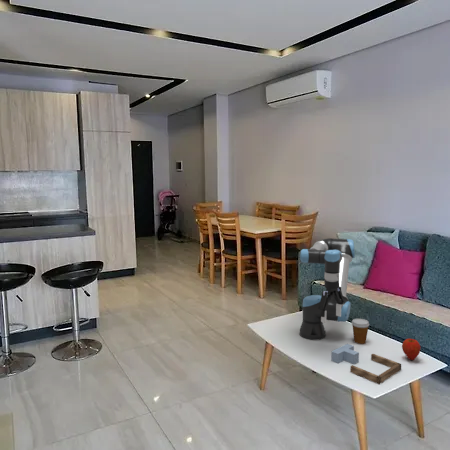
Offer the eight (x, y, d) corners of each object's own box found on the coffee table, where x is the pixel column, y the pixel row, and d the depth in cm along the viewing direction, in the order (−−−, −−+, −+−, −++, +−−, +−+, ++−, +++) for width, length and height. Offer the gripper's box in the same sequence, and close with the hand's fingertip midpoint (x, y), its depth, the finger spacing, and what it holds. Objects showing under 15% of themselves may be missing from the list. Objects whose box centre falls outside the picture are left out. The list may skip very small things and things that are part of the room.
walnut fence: (350, 371, 193) (350, 366, 192) (372, 359, 205) (372, 353, 205) (379, 384, 181) (379, 378, 181) (401, 369, 194) (401, 363, 193)
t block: (331, 360, 204) (331, 351, 204) (347, 352, 213) (347, 343, 213) (348, 367, 197) (348, 357, 196) (364, 358, 206) (364, 349, 205)
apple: (397, 357, 206) (398, 337, 205) (409, 354, 210) (410, 334, 208) (411, 364, 198) (412, 344, 197) (423, 361, 202) (424, 340, 200)
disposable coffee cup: (347, 339, 229) (348, 319, 227) (360, 336, 232) (361, 317, 231) (359, 346, 220) (359, 325, 218) (372, 343, 224) (373, 322, 222)
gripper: (323, 286, 197) (323, 327, 200) (351, 276, 213) (350, 315, 216) (311, 283, 203) (310, 323, 206) (339, 274, 219) (338, 311, 222)
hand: (331, 319), depth 211 cm, fingers open, 13 cm apart
